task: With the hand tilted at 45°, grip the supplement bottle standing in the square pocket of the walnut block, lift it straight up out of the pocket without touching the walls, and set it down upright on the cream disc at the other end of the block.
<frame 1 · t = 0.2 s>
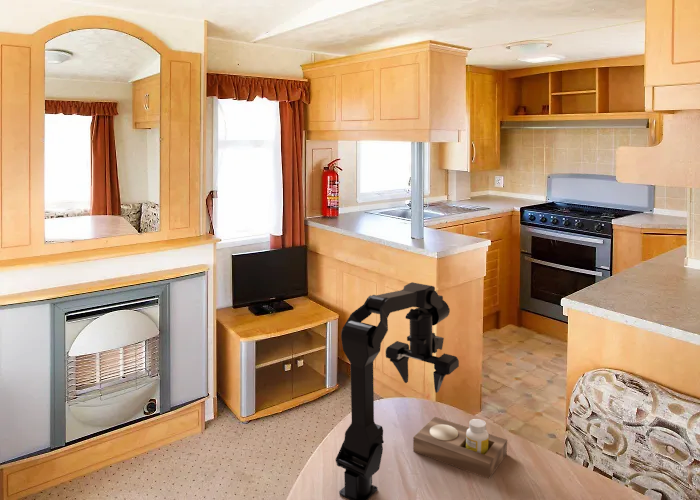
hand: (421, 387, 139), 14 cm above the table, tool pointing down, fingers open, 9 cm apart
pocket block: (459, 452, 135), on the table
supplement bottle: (476, 459, 132), resting in pocket block
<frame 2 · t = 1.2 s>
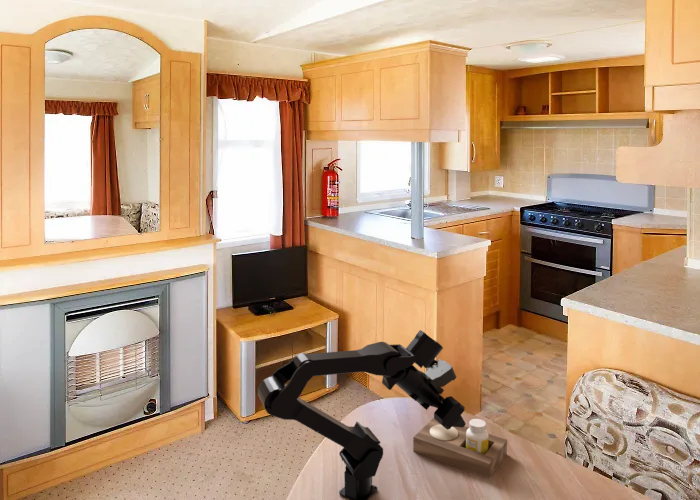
hand: (453, 415, 127), 13 cm above the table, tool tilted 45°, fingers open, 9 cm apart
nothing on the table moved.
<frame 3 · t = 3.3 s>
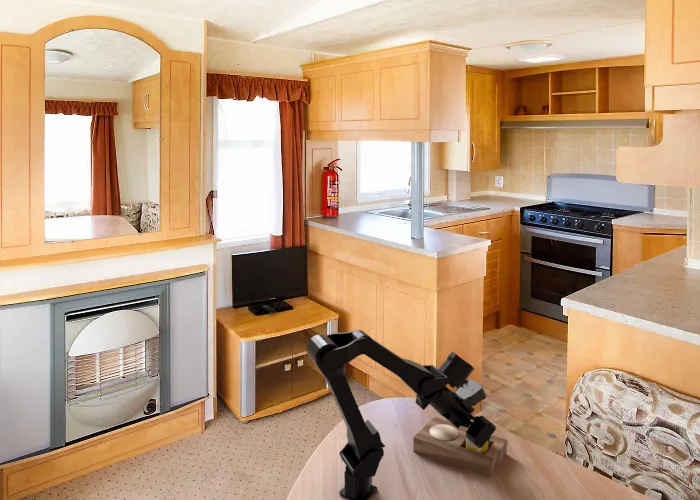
hand: (482, 433, 131), 7 cm above the table, tool tilted 45°, fingers closed on supplement bottle, 5 cm apart
supplement bottle: (476, 459, 132), resting in pocket block, touching gripper
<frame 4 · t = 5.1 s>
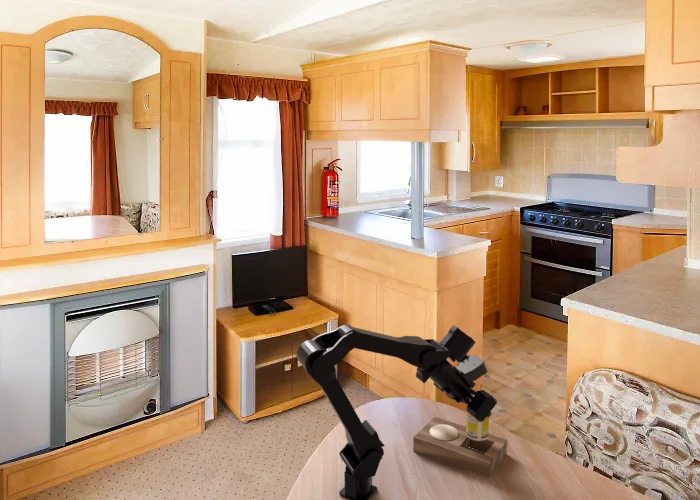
hand: (482, 409, 130), 13 cm above the table, tool tilted 45°, fingers closed on supplement bottle, 5 cm apart
supplement bottle: (476, 436, 131), point 6 cm above the table, touching gripper
when the fingers open (12 cm above the table, at t = 7.2 s): supplement bottle stays where it is, resting on pocket block.
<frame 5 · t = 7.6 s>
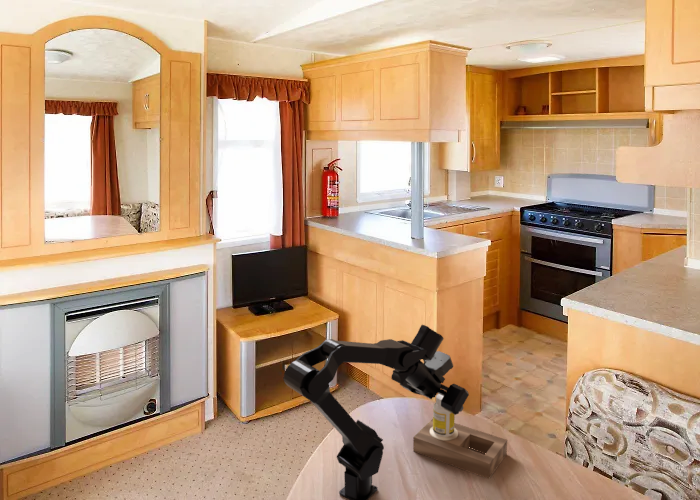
hand: (448, 402, 136), 12 cm above the table, tool tilted 45°, fingers open, 9 cm apart
supplement bottle: (443, 432, 136), point 4 cm above the table, touching pocket block
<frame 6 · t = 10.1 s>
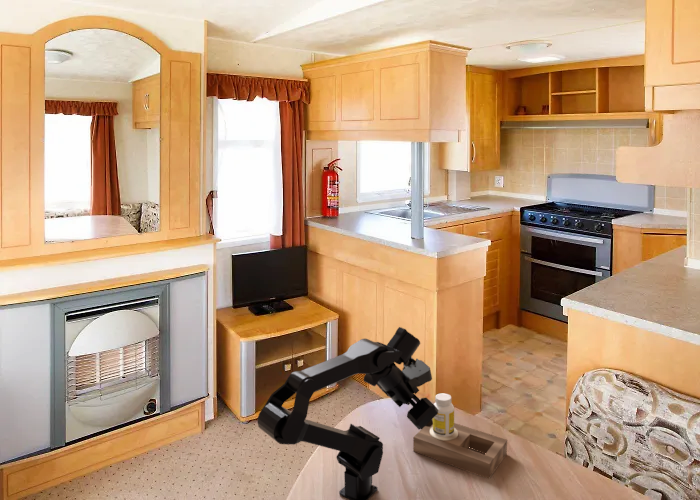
hand: (420, 413, 130), 12 cm above the table, tool tilted 40°, fingers open, 9 cm apart
nothing on the table moved.
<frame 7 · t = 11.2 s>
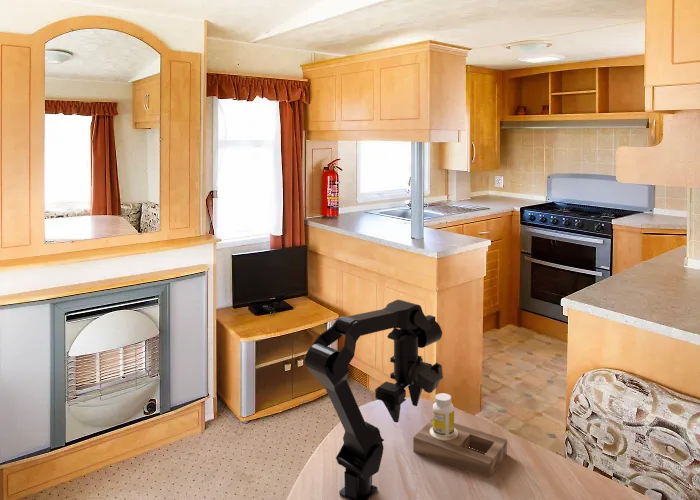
hand: (405, 413, 129), 13 cm above the table, tool pointing down, fingers open, 9 cm apart
nothing on the table moved.
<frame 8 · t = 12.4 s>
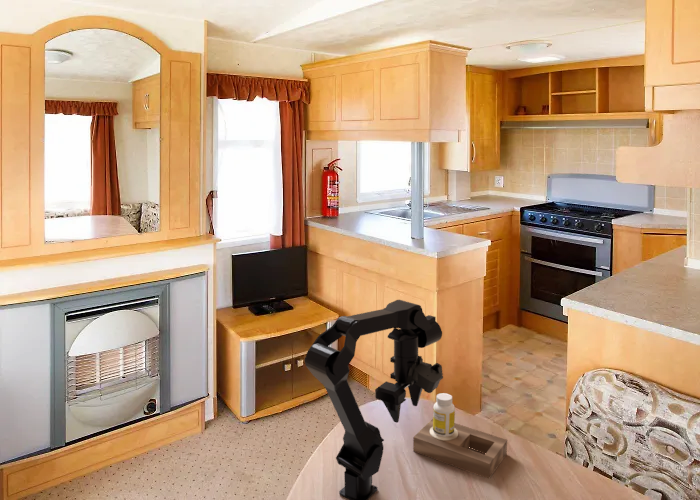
hand: (405, 413, 129), 13 cm above the table, tool pointing down, fingers open, 9 cm apart
nothing on the table moved.
at the end: supplement bottle 0.2 cm from the target spot on the pocket block, point 4.1 cm above the pocket block's base; supplement bottle tilted 1°; the gripper is holding nothing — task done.
